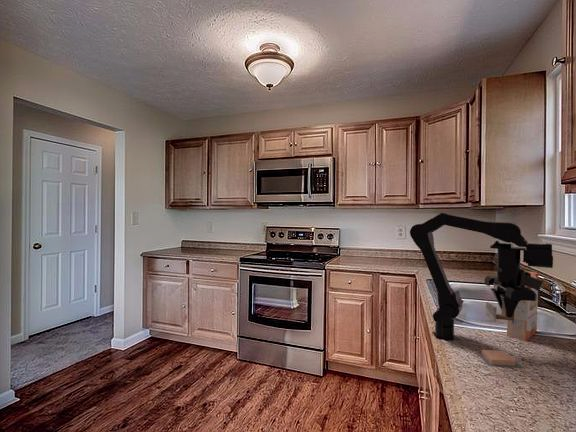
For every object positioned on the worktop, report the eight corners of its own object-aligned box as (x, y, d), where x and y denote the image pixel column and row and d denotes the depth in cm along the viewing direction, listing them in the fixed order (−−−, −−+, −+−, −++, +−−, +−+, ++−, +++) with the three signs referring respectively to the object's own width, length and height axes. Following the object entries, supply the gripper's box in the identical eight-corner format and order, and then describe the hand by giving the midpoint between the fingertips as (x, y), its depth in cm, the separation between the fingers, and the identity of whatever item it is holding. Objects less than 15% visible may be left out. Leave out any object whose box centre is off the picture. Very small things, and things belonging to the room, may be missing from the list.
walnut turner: (507, 316, 100) (507, 300, 99) (516, 322, 94) (517, 305, 94) (485, 314, 101) (485, 298, 101) (493, 321, 95) (494, 304, 95)
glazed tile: (504, 355, 93) (481, 354, 94) (504, 350, 93) (481, 349, 94) (515, 365, 87) (491, 364, 88) (515, 360, 87) (491, 359, 88)
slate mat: (476, 354, 95) (476, 352, 95) (508, 356, 94) (508, 354, 94) (488, 368, 87) (488, 365, 87) (524, 370, 86) (524, 368, 86)
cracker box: (528, 343, 103) (529, 278, 102) (506, 337, 107) (506, 275, 107) (538, 331, 112) (539, 272, 111) (517, 327, 117) (518, 269, 116)
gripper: (559, 271, 86) (557, 329, 86) (521, 259, 104) (520, 307, 105) (512, 270, 88) (511, 326, 88) (484, 258, 106) (483, 305, 107)
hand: (507, 315), depth 97 cm, fingers closed on walnut turner, 2 cm apart
